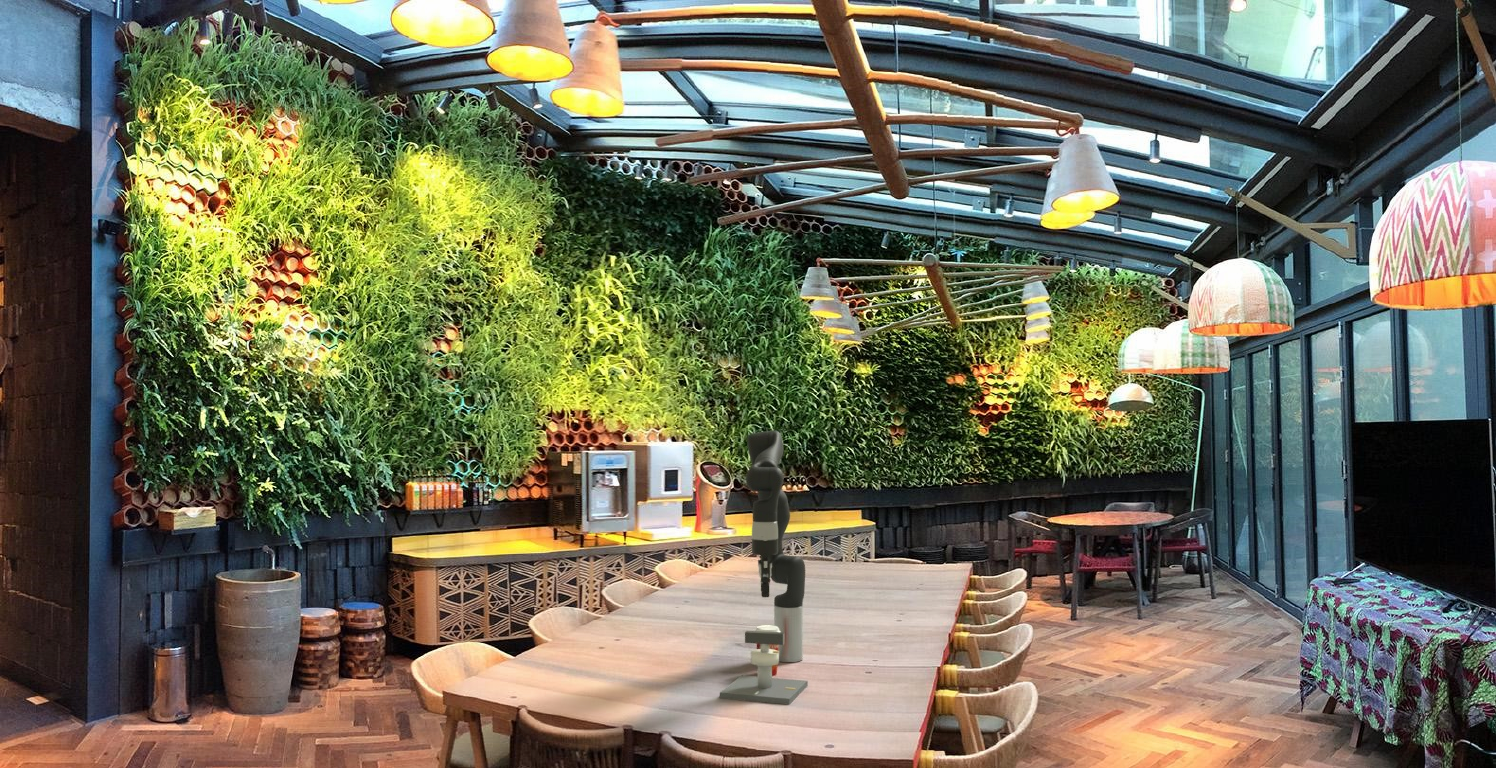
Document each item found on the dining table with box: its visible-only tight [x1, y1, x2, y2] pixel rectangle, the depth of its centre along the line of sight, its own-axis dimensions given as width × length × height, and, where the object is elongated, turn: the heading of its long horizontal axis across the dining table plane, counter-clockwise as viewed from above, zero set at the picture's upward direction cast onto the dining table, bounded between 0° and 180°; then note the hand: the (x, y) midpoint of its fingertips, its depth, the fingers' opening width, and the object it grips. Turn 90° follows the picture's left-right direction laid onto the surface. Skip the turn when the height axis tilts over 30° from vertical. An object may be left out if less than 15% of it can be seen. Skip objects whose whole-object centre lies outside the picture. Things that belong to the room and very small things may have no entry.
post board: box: [719, 666, 809, 705], centre depth 281 cm, size 20×20×8 cm
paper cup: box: [755, 624, 781, 677], centre depth 301 cm, size 8×8×14 cm
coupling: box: [744, 630, 785, 667], centre depth 281 cm, size 11×8×8 cm
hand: (765, 594), depth 281 cm, fingers open, 8 cm apart
